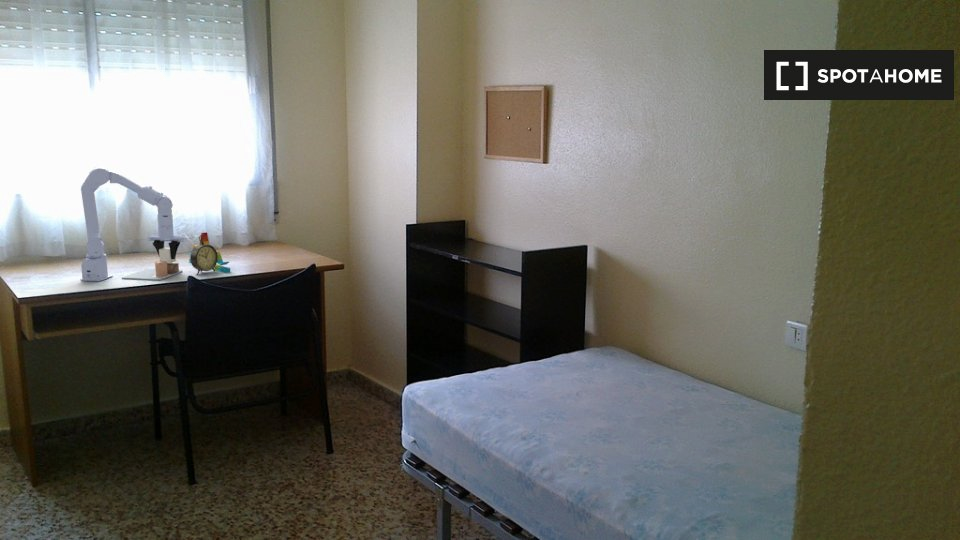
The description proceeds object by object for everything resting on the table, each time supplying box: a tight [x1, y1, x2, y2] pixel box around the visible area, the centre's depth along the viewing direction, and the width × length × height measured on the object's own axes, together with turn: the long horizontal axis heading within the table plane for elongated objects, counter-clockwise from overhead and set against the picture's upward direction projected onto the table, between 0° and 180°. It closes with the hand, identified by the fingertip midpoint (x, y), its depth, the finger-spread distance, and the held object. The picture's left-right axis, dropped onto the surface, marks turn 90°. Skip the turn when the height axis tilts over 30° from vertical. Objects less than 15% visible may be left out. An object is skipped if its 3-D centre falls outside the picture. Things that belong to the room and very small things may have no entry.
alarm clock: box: [189, 233, 218, 276], centre depth 323 cm, size 11×5×16 cm, turn 148°
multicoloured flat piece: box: [188, 231, 231, 274], centre depth 335 cm, size 30×3×15 cm, turn 47°
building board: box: [121, 268, 183, 282], centre depth 318 cm, size 18×16×1 cm
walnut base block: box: [167, 262, 180, 274], centre depth 321 cm, size 6×6×4 cm
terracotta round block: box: [154, 260, 168, 277], centre depth 314 cm, size 4×4×6 cm
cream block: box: [158, 247, 177, 263], centre depth 320 cm, size 4×4×6 cm
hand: (167, 258), depth 320 cm, fingers closed on cream block, 4 cm apart
